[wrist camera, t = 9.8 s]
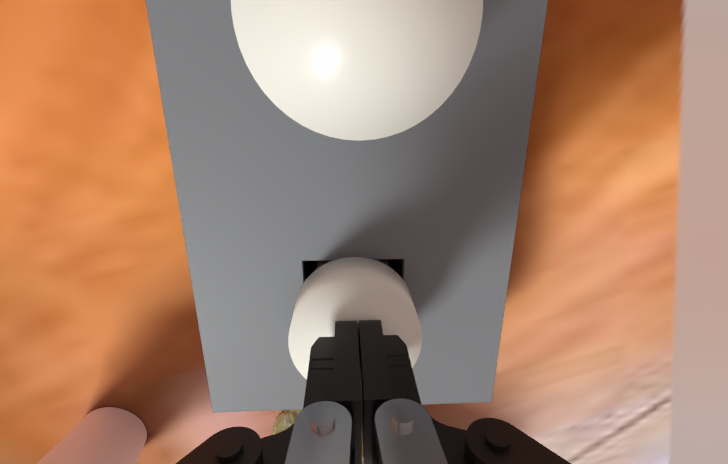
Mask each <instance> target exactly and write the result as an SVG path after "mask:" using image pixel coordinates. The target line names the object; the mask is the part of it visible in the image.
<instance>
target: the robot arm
mask: <svg viewBox="0 0 728 464" xmlns="http://www.w3.org/2000/svg"><path fill="white" fill-rule="evenodd" d="M362 439H363V457H364V464H571V463H569V462H568V461H566V460H565V459H563V458H561V457H560V456H558V455H557V454H555V453H554V452H552V451H551V450H549V449H548V448H546V447H545V446H543V445H542V444H540V443H539V442H537V441H535V440H534V439H532V438H531V437H529V436H528V435H526V434H525V433H523V432H522V431H520V430H519V429H517V428H516V427H514V426H512V425H511V424H509V423H507V422H505V421H502V420H499V419H494V418H483V419H479V420H476V421H474V422H473V423H472V424H471V425H470V426H469V428H468V429H467V431H466V430H462V429H458V428H454V427H450V426H446V425H444V424H441V423H439V422H437V421H436V420H434V419H433V418H431V417H430V415H429V413H428V411H427V410H426V409H425V408H424V407H423V406H422V404H421V400H420V397H419V393H418V389H417V385H416V381H415V377H414V373H413V369H412V366H411V361H410V358H409V353H408V349H407V346H406V344H405V343H404V341H403V340H402V339H401V338H400V337H399V336H398V335H383V330H382V324H381V320H359V346H358V330H357V320H354V321H335V335H334V337H318V339H317V340H316V341H315V343H314V344H313V345H312V347H311V351H310V360H309V366H308V374H307V382H306V389H305V397H304V405H303V410H302V411H301V412H300V413H299V414H298V416H297V417H296V420H295V423H294V424H293V425H291V426H290V427H289V428H287V429H286V430H284V431H282V432H279V433H277V434H274V435H271V436H268V437H264V438H261V439H260V437H259V435H258V434H257V433H256V432H255V431H253V430H252V429H249V428H246V427H231V428H227V429H224V430H221V431H219V432H217V433H216V434H214V435H213V436H211V437H210V438H208V439H207V440H206V441H205V442H203V443H202V444H201V445H199V446H198V447H197V448H195V449H194V450H193V451H192V452H190V453H189V454H188V455H186V456H185V457H184V458H182V459H181V460H180V461H179V462H177V463H176V464H362Z"/></svg>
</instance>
